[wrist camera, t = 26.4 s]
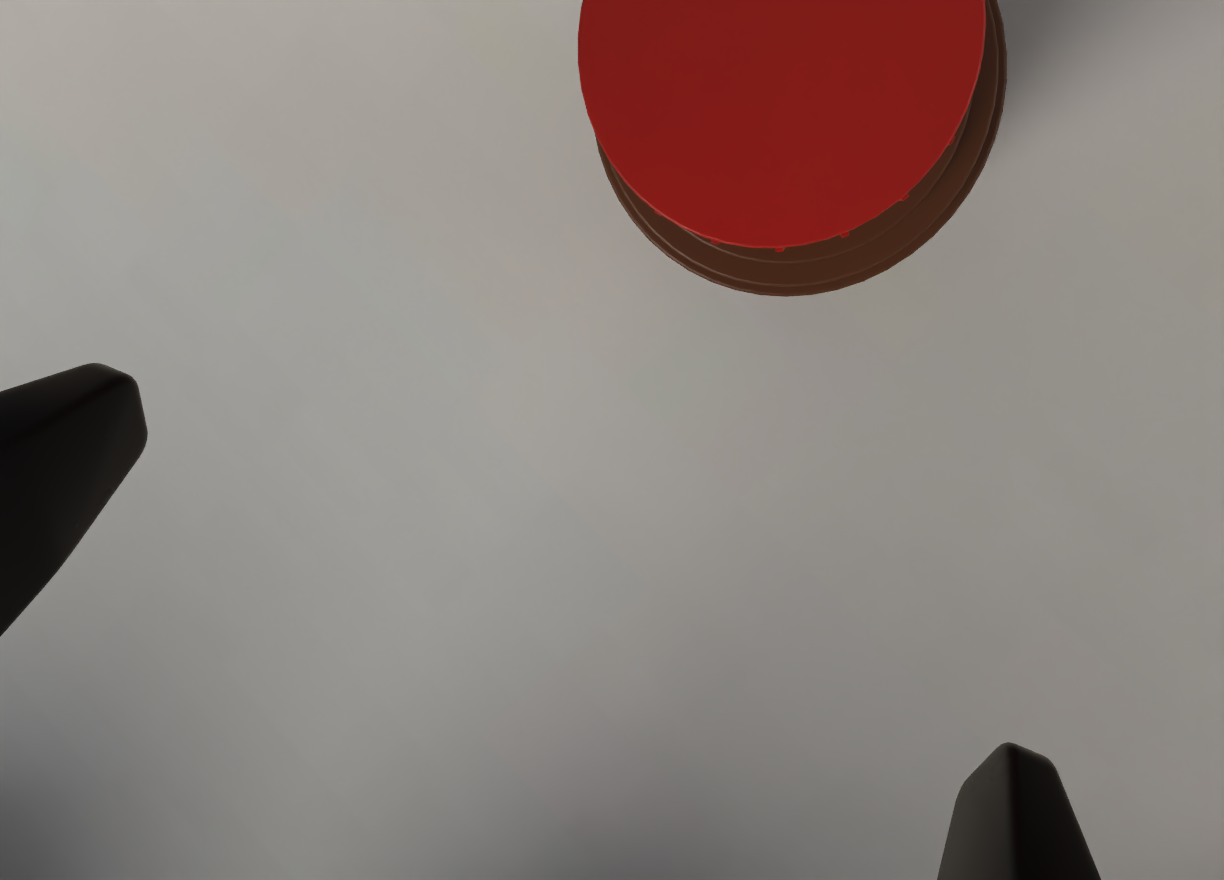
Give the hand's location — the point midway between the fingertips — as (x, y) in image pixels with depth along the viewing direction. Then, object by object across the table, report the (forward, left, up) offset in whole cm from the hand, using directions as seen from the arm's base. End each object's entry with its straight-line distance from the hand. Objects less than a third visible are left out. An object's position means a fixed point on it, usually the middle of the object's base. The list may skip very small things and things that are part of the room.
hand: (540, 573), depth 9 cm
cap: (+3, +4, -5) cm, 7 cm away
